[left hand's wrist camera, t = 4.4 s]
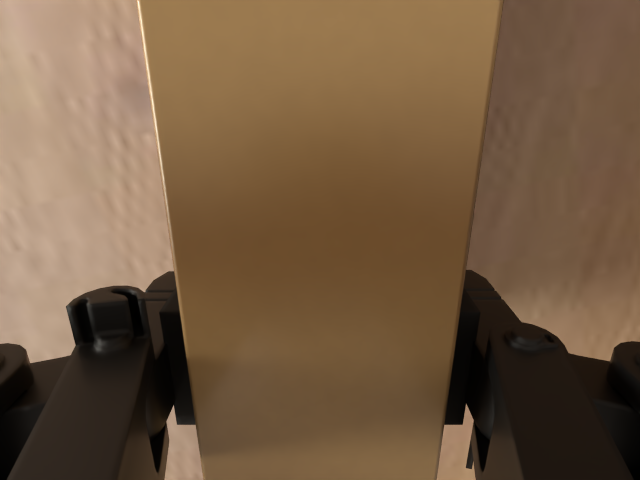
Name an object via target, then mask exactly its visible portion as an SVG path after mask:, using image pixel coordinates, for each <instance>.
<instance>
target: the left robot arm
mask: <svg viewBox="0 0 640 480" xmlns="http://www.w3.org/2000/svg"><path fill="white" fill-rule="evenodd" d="M66 308H67V312H68V316H69V320H70V324H71V328H72V332H73V336H74V340H75V344H76V346H75V348H74V350H73V352H72V354H71V355H70V356H66V357H62V358H56V359H51V360H46V361H41V362H35V363H30V362H29V358H28V355H27V352H26V349H24V348H23V347H22V346H20V345H16V344H9V343H6V344H0V480H164V478H165V470H166V462H167V454H168V446H169V435H168V429H167V423H166V421H167V419H168V416H169V414H170V412H171V410H172V407H173V405H174V408H175V415H176V421H177V425H196V423H195V416H194V408H193V401H192V394H191V387H190V380H189V373H188V366H187V358H186V351H185V344H184V337H183V330H182V323H181V316H180V308H179V301H178V294H177V287H176V280H175V273H174V272H167V273H165V274H164V275H162V276H160V277H158V278H157V279H155V280H154V281H153V282H152V283H151V284H150V286H149V287H148V288H147V289H146V292H143V291H141V290H140V289H139V288H136V287H131V286H111V287H105V288H99V289H96V290H93V291H90V292H87V293H85V294H83V295H81V296H79V297H77V298H75V299H73V300H72V301H71V302H70V303H69V304H68V305H67V306H66ZM466 404H467V406H468V408H469V410H470V413H471V415H472V417H473V419H474V423H473V429H472V435H471V440H470V446H469V452H468V458H467V464H466V468H469V469H472V465H473V461H474V469H475V477H476V480H640V342H634V341H631V342H624V343H620V344H619V345H617V346H616V347H615V348H614V350H613V354H612V357H611V360H610V361H604V360H599V359H594V358H588V357H583V356H578V355H574V354H570V353H568V351H567V349H566V347H565V345H564V344H563V343H562V342H561V341H560V339H559V338H558V337H557V336H555V335H554V334H552V333H550V332H549V331H547V330H545V329H543V328H540V327H538V326H535V325H533V324H528V323H523V322H521V321H520V320H519V319H518V317H517V316H516V315H515V314H514V312H513V311H512V310H511V309H510V308H509V306H508V305H507V304H506V303H505V301H504V300H501V296H500V295H499V294H498V293H497V292H496V291H494V288H493V287H492V285H491V284H490V283H489V282H488V281H487V279H486V278H484V277H482V276H480V275H479V274H477V273H475V272H474V271H472V270H466V272H465V280H464V287H463V294H462V301H461V308H460V315H459V322H458V329H457V337H456V344H455V351H454V358H453V365H452V372H451V379H450V387H449V394H448V401H447V408H446V415H445V422H444V425H463V419H464V413H465V406H466Z"/></svg>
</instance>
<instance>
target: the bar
mask: <svg viewBox="0 0 640 480" xmlns="http://www.w3.org/2000/svg"><path fill="white" fill-rule="evenodd" d="M136 1H137V8H138V16H139V23H140V30H141V37H142V44H143V51H144V58H145V66H146V73H147V80H148V87H149V94H150V101H151V108H152V116H153V123H154V130H155V137H156V144H157V151H158V158H159V166H160V173H161V180H162V187H163V194H164V201H165V208H166V216H167V223H168V230H169V237H170V244H171V251H172V258H173V266H174V273H175V280H176V287H177V294H178V301H179V308H180V316H181V323H182V330H183V337H184V344H185V351H186V358H187V366H188V373H189V380H190V387H191V394H192V401H193V408H194V416H195V423H196V430H197V437H198V444H199V451H200V458H201V466H202V473H203V480H436V479H437V472H438V465H439V458H440V451H441V444H442V436H443V429H444V422H445V415H446V408H447V401H448V394H449V387H450V379H451V372H452V365H453V358H454V351H455V344H456V337H457V329H458V322H459V315H460V308H461V301H462V294H463V287H464V280H465V272H466V265H467V258H468V251H469V244H470V237H471V230H472V223H473V215H474V208H475V201H476V194H477V187H478V180H479V173H480V166H481V158H482V151H483V144H484V137H485V130H486V123H487V116H488V109H489V101H490V94H491V87H492V80H493V73H494V66H495V59H496V51H497V44H498V37H499V30H500V23H501V16H502V9H503V2H504V0H136Z"/></svg>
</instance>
